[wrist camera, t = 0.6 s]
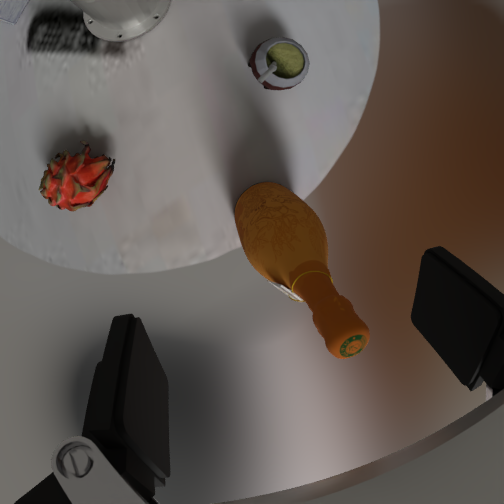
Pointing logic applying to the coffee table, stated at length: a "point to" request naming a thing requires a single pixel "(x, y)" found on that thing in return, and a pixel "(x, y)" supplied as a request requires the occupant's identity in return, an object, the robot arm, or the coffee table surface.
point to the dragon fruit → (76, 179)
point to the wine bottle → (297, 261)
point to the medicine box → (11, 10)
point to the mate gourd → (279, 63)
